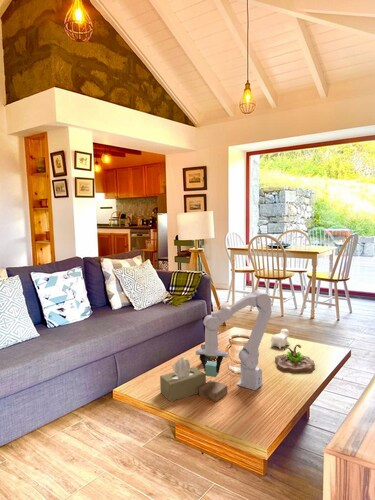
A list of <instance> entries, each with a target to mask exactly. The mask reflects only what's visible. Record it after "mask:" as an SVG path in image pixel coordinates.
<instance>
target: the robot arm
mask: <svg viewBox="0 0 375 500" xmlns="http://www.w3.org/2000/svg"><path fill="white" fill-rule="evenodd" d="M272 302H273V300H272V299H271V297H270V296H269V294H267V293H264V292H262V291H260V290H259V289H253V290H252V291H251V292H248V293H247V294H246V295H245V296H244V297H242V298H241V299H239V300H238V301H236V302H235V303H233V304H231V305H230V306H227V305H226V306H221V307H220V309H218V310H217V311H215V312H212V313H211V314H208V315H206V316H205V317H204V319H203V320H202V324H203V325H204V344H205V349H202V348H201V349H197V348H196V350H195V356H199V361H200V362H201V364H202V366H203V367H202V368H203V370H204V372H205V364H206V363H207V356H216V360H215V362H217V373H218V374H220V369H221V364H222V361H223V359H224V358H225V359H228V357H229V352H227V351H222V350H219V343H218V342H219V341H218V340H219V337H218V329H219V328H220V326H221V325H222V324H223V323H225V322H226V321H229V320H230V319H232V318H233V315H234V314H235V313H237V312H239V311H241V310H242V309H244V308H247V307H248V306H250V307H256V309H257V311H258V314H257V317H256V320H255V322H254V325H253V327H252V330H251V332H250V334H249V335H250V336H249V338H248V341H247V342H246V343H245V344H244V345H243V347H242V349H241V350H240V351H239V352H238V358H239V360H240V381H239V382H237V383H236V385H237V386H239V387H243V388H246V389H248V390H252V391H257V390H258V389H259V388H260V387H261V386H262V385H263V384H264V383H263V372H262V371H263V370H262V369H261V368H259V366H258V365H259V356H260V351H259V348H260V344H261V343H262V340H263V337H264V334H265V332H266V328H267V327H268V324H269V322H270V319H271V315H272Z"/></svg>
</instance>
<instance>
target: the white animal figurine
mask: <svg viewBox="0 0 375 500" xmlns="http://www.w3.org/2000/svg"><path fill="white" fill-rule="evenodd" d="M289 336H290V331H289V330H288V329H286V328H282V329H281V330H280V332H279V333H277V334H274V335H272V336H271V340H270V346H271V348H274V347H276V348H279V350H281V349H282V347H285V346H286V345H287V347H288V346H290V345H291V344H290V342H289V341H288V337H289Z"/></svg>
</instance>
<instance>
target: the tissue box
mask: <svg viewBox="0 0 375 500" xmlns="http://www.w3.org/2000/svg"><path fill="white" fill-rule="evenodd" d="M171 368H172V369H173V372H170V373H167V374H163V375H160V376H159V378H160V379H159V382H160V386H159V387H160V393H162V394H163V395H162V394H161V395H162V396H164V397H165V396H166V397H167V398H168V399H169V400H170V401H172V402H174V401H173V400H175V401H177V400H176V399H179V400H181V399H180V398H182V399H184V398H183V397H185V398H187V396H188V397H191V396H194V395H193V394H195V395H197V393H198V394H199V387H201V386H202V385H204V384H205V383H207V378H206V377H207V376H206V374H205V372H203V371H202V370H200V369H199V368H197V367H196V366H192V367H191V364H190V360H189V359H184V357H180V358H178V360H177V361H175V363H173V364H172V365H171ZM190 395H191V396H190ZM166 397H165V398H166ZM167 398H166V399H167ZM168 399H167V400H168ZM169 400H168V401H169ZM170 401H169V402H170Z"/></svg>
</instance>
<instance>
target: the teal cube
mask: <svg viewBox="0 0 375 500" xmlns="http://www.w3.org/2000/svg"><path fill="white" fill-rule="evenodd" d="M204 373H205V374H206V377H212V378H216V377H217V376H218V375H219V373H217V362H216V361H208V362H207V363H206V364H205V371H204Z"/></svg>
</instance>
